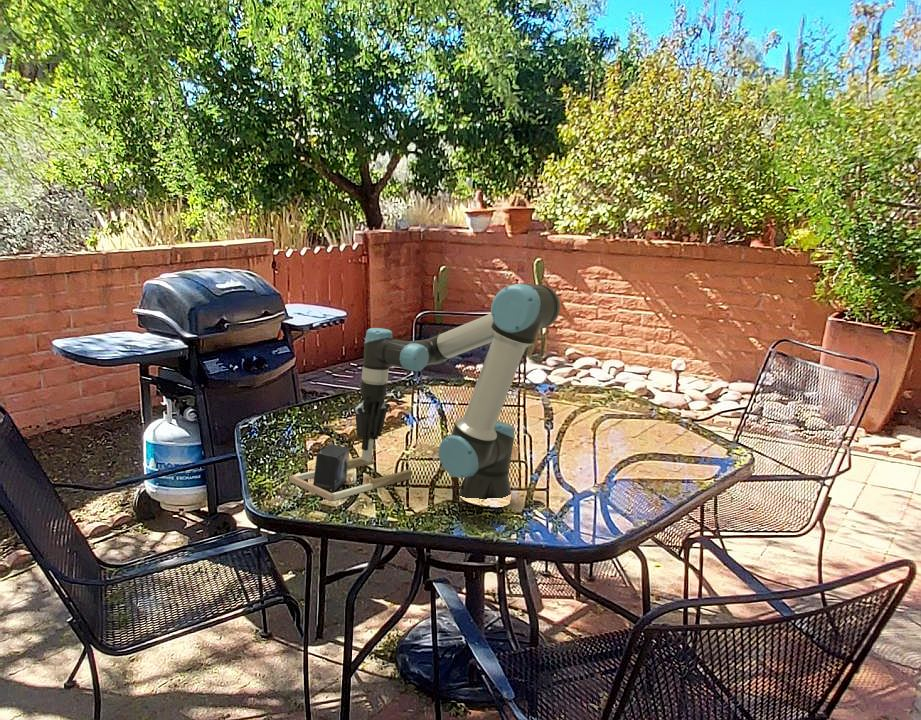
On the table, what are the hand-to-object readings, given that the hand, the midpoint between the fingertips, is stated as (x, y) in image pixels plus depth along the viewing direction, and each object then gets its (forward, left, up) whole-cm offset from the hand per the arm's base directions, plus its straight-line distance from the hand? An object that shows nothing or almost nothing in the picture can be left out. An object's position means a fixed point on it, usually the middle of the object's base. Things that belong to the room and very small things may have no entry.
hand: (366, 460), depth 219 cm
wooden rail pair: (0, -3, -5) cm, 6 cm away
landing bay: (0, +13, -5) cm, 14 cm away
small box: (0, +13, -6) cm, 14 cm away
